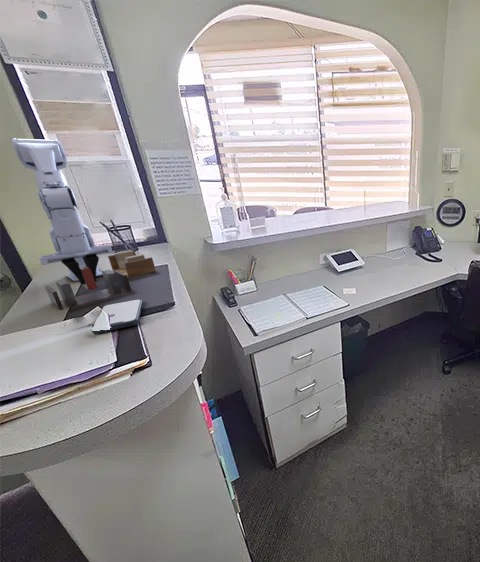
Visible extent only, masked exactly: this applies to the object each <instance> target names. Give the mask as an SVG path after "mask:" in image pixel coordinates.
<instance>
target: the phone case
mask: <svg viewBox="0 0 480 562" xmlns="http://www.w3.org/2000/svg"><path fill="white" fill-rule="evenodd" d="M142 305H143V299H140V298H139V299H133V300H127V301H121V302H116V303H110V304H106V305H104V306H102V307H101V309H102V310H103V311H104V312H106V313H107V314H109V315H111V314H115V316H113V317H110V326H111V327H112V328H110V330H109V331H108V332H110V331H115V330H120V329H124V328H130V327H133V326H136V325H138V324H139V323H140V319H141V314H142V311H143V306H142ZM106 332H107V331H105V330H100V331H92V330H91V333H92V334H102V333H106Z"/></svg>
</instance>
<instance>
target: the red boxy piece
mask: <svg viewBox="0 0 480 562" xmlns="http://www.w3.org/2000/svg"><path fill="white" fill-rule="evenodd" d="M79 268H80V271H81V274H82V276H83V278H84V281H85V284H84V285H82V286H83V288H85V289H86V290H88V291H92V290H96V289H98V286H97V284H96V282H95V280H94V278H93V275H92V272H91V269H90V268H89V267H87V266H85V265H82V266H79Z"/></svg>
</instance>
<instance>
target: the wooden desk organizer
mask: <svg viewBox="0 0 480 562" xmlns="http://www.w3.org/2000/svg"><path fill="white" fill-rule="evenodd" d="M107 258H108V261H109V264H110V267H111V271H113V272H114V271H115V270H118V271H120V272H122V273H124V274H126V275H127V277H128V279H129V278H130V279H131V278H134V277H138V276H142V275H147V274H151V273H154V272H157V270H156V265H155V262H154V259H153V257H146V258H145V255H144V254H136V251H135V250H131V249H129V250H124V251H119V252H114V253H113V254H111V255H107Z"/></svg>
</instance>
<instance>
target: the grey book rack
mask: <svg viewBox="0 0 480 562" xmlns="http://www.w3.org/2000/svg"><path fill="white" fill-rule="evenodd" d="M101 272H102V274H103V275H102V277H103V279H104V282H105V285H106V287H107V288H104V289H101V290H97V291H93V292H89V293H86V294H81V295H78V296H75V294H74V291H73V288H72V285H71V283H70V282H69V281H67V280H66V279H59V280H55V284H56V286H57V289H58V292H59V294H60V296H61V299H62V300H61V299H60V297H59V294H58V292H57V291H56V289H54V288H53V287H51V285H50V284H48V285H44V288H45V290H46V292H47V295H48V297H49V299H50V302H51V304H52V305H53V306H54V307H55V308H57V309H58V310H59V311H62V310H66V309H69V308H73V307H76V306H80V305H85V304H88V303H92V302H95V301H98V300H99V301H100V300H103V299H106V298H110V297H113V296H117V295H120V294H124V293H128V292H132V291H133V290H132V287H131V284H130V280H129V277H127V275H126V274H124V273H122V272H120V271H118V270H115V271H114V272H113V270H112V269H106V270H101Z"/></svg>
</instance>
